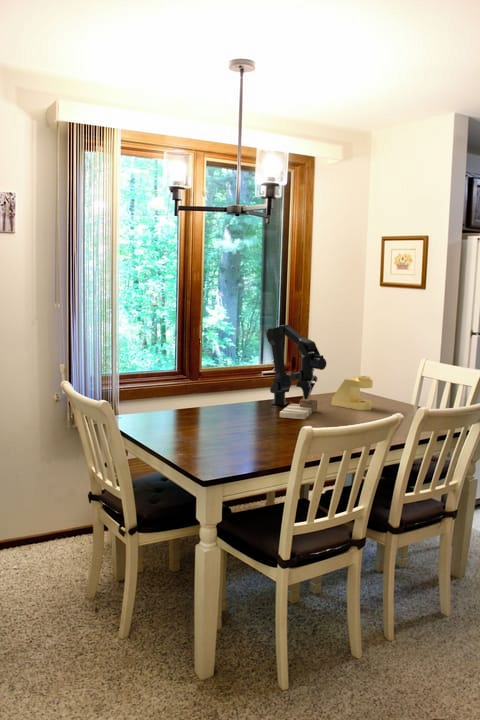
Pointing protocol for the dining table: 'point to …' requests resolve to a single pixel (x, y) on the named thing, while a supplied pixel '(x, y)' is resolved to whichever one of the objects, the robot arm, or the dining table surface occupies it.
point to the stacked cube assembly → (309, 403)
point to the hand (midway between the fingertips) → (306, 398)
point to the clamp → (353, 393)
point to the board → (296, 411)
